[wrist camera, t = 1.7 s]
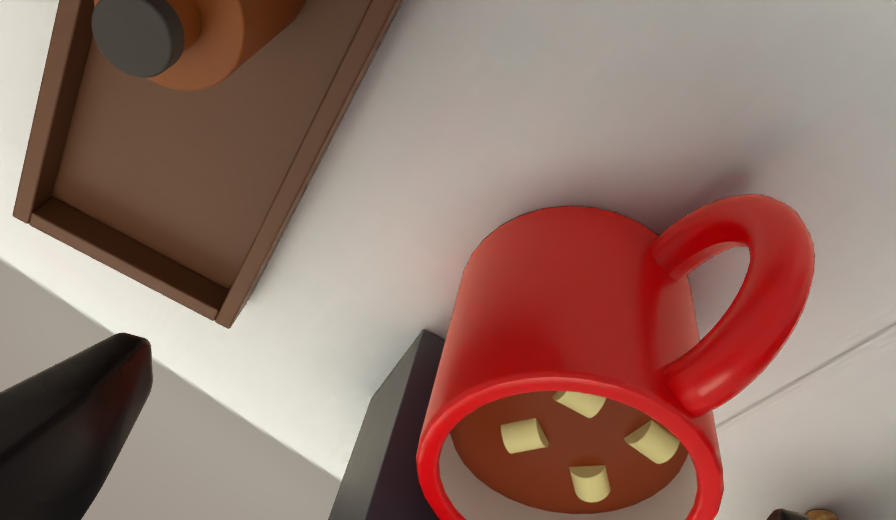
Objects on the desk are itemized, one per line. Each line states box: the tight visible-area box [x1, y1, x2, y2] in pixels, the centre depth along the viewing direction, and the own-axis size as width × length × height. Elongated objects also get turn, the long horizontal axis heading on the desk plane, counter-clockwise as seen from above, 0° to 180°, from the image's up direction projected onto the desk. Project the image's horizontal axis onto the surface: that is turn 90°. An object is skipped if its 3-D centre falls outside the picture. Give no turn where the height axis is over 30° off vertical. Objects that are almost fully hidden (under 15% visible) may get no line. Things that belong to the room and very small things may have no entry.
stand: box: [328, 330, 445, 520], centre depth 24 cm, size 5×5×12 cm
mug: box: [416, 194, 815, 520], centre depth 21 cm, size 8×12×8 cm, turn 143°
